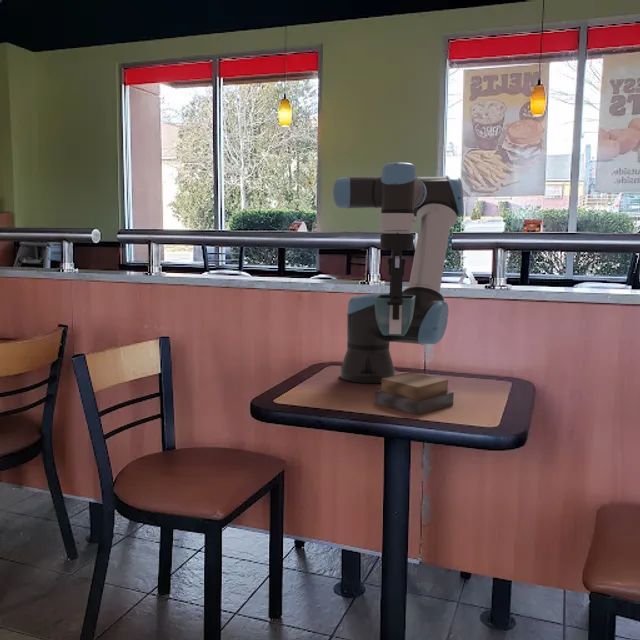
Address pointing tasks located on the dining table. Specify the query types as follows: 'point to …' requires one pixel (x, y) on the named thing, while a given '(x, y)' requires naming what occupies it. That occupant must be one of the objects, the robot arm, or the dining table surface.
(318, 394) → the dining table surface
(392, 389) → the tier stand
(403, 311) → the flower pot
